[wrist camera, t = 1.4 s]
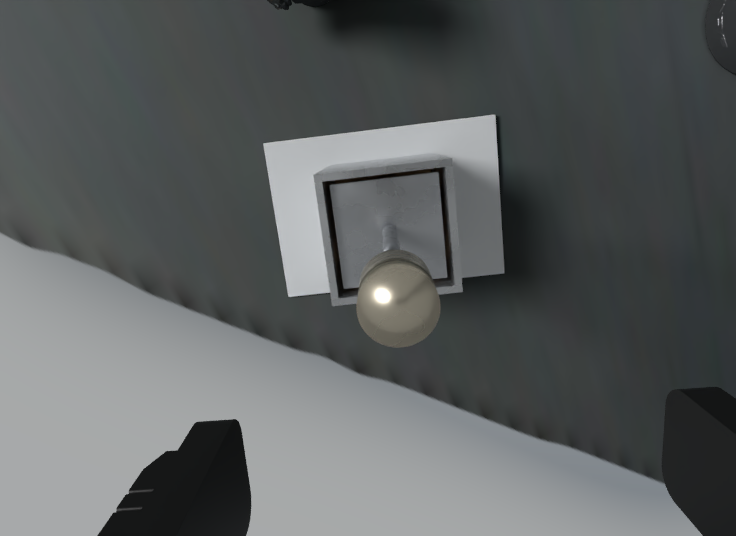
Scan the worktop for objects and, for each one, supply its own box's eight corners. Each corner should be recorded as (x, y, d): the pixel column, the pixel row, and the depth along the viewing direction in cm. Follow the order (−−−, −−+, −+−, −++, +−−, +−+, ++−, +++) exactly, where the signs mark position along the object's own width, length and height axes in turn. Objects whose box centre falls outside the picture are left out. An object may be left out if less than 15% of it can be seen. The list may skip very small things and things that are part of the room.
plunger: (437, 171, 35) (488, 201, 19) (446, 275, 37) (500, 385, 20) (330, 184, 35) (289, 225, 19) (344, 286, 37) (317, 403, 21)
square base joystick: (433, 152, 45) (452, 158, 33) (441, 253, 47) (462, 291, 35) (330, 164, 45) (313, 174, 34) (343, 264, 47) (332, 306, 36)
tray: (493, 114, 45) (495, 114, 44) (503, 271, 48) (504, 273, 47) (264, 143, 46) (263, 143, 45) (289, 295, 49) (288, 297, 48)
